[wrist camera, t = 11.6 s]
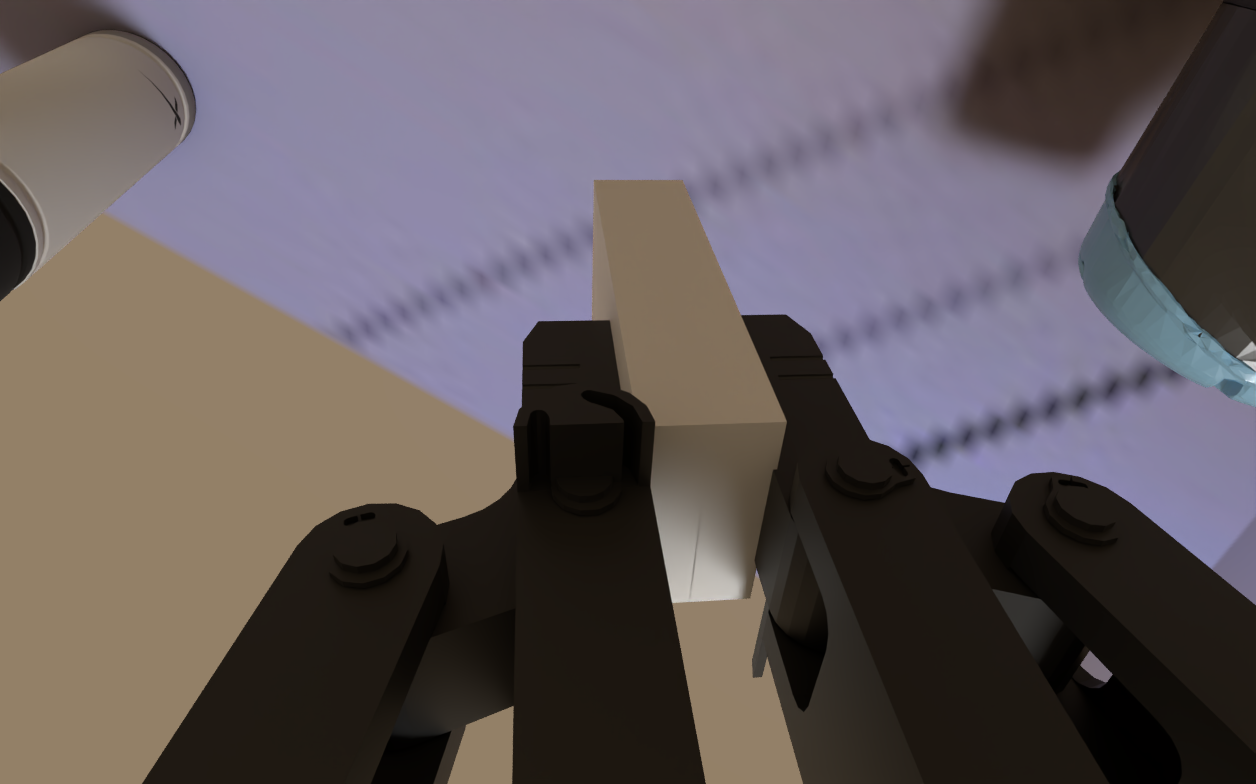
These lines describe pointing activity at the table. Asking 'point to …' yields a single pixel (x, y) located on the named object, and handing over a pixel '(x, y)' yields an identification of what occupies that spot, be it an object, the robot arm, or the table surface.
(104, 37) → the travel mug
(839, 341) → the table surface
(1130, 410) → the table surface
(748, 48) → the table surface
